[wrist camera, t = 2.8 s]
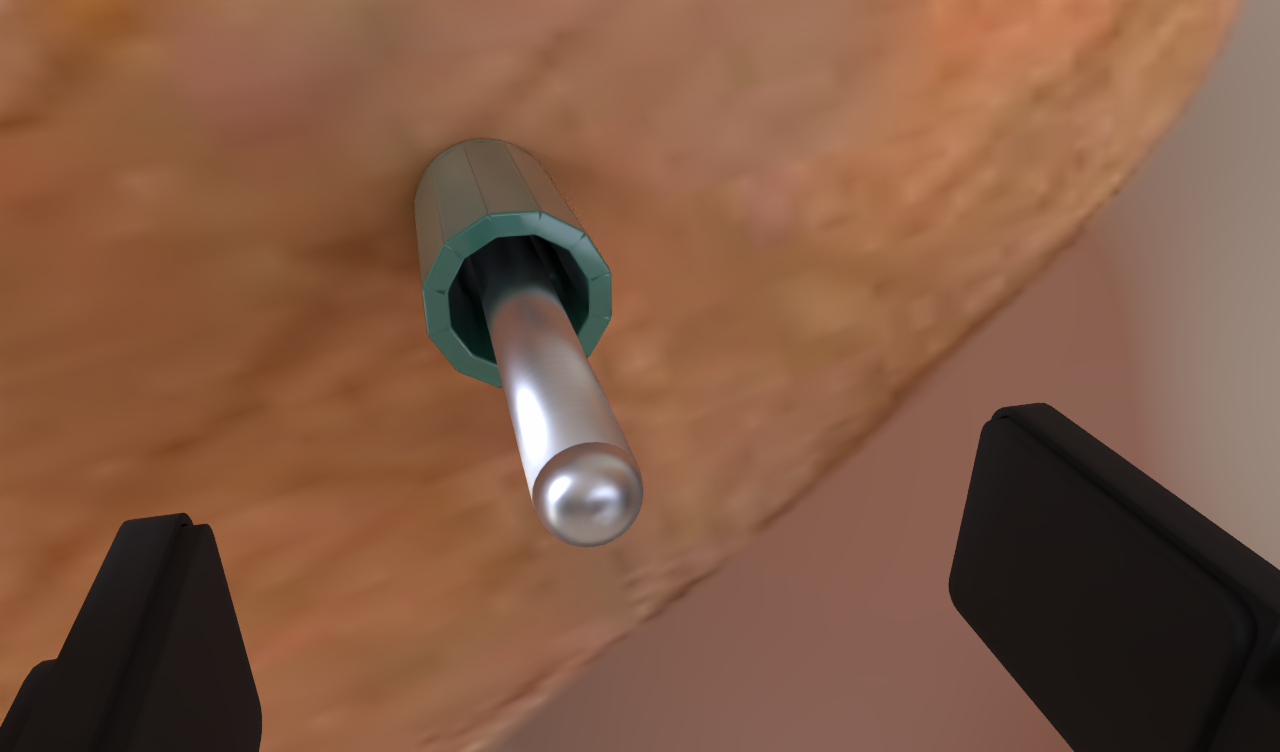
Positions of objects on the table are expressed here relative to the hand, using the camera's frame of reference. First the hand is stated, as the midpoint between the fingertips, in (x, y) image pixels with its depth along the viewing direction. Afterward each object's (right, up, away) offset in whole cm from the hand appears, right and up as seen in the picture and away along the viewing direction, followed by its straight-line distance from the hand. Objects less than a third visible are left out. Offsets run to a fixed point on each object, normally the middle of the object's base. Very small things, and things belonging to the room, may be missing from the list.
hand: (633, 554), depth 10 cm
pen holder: (-4, +7, +13) cm, 15 cm away
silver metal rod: (-4, +7, +13) cm, 15 cm away
